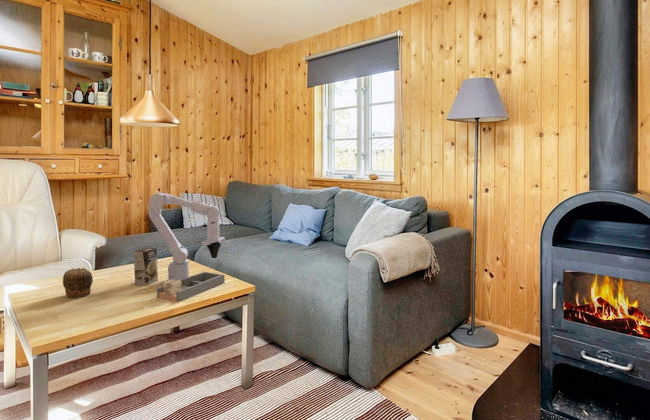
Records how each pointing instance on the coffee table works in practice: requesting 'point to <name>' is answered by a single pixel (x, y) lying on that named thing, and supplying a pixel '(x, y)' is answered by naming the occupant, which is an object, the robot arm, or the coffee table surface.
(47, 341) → the coffee table surface
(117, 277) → the coffee table surface
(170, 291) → the cream block
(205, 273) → the tray
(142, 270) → the coffee box
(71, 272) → the dark brown rounded lump
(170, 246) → the robot arm
